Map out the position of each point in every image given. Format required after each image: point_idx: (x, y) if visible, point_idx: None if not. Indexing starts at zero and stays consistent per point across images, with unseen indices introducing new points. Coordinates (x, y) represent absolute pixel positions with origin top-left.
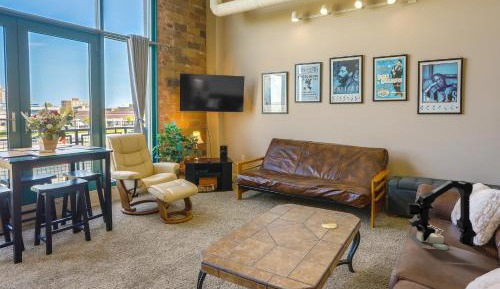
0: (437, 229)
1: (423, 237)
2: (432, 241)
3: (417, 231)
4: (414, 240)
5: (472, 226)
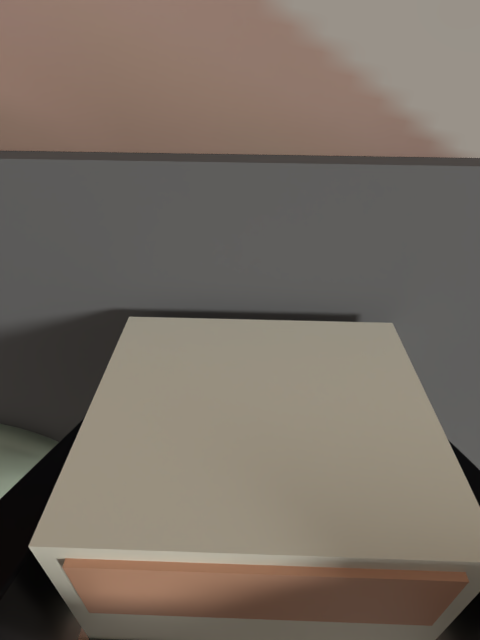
0: None
1: None
2: None
3: (443, 525)
4: (260, 198)
5: None
